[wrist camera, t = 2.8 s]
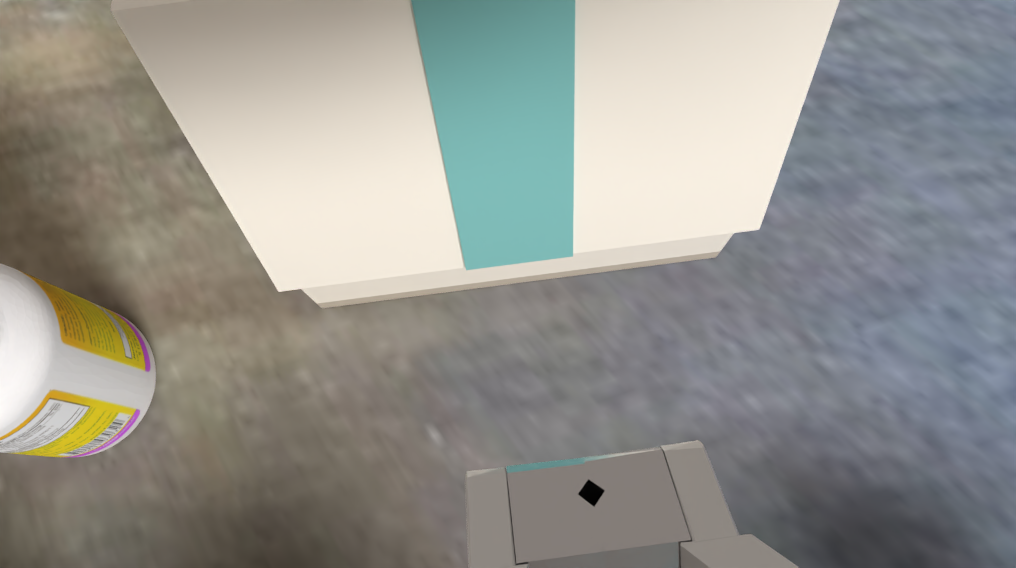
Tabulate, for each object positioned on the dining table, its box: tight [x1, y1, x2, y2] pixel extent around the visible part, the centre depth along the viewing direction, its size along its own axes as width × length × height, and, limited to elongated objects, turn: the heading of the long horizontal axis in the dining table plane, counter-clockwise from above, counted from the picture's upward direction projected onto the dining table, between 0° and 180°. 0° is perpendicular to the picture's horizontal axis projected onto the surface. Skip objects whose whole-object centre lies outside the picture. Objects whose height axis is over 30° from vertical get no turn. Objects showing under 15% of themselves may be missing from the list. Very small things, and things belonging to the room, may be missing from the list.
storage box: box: [302, 233, 734, 308], centre depth 39 cm, size 18×14×7 cm
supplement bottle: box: [0, 263, 156, 457], centre depth 34 cm, size 7×7×13 cm
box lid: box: [110, 0, 839, 292], centre depth 28 cm, size 18×14×1 cm
